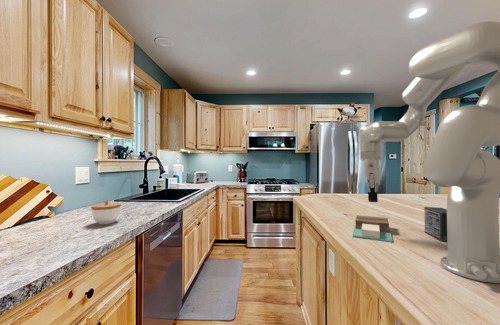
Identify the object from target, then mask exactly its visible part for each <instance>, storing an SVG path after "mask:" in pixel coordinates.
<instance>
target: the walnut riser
mask: <svg viewBox="0 0 500 325" xmlns="http://www.w3.org/2000/svg"><path fill="white" fill-rule="evenodd" d="M389 222H390V221H389V218H388V217H381V216H370V215H358V214H357V215H356V218H355V225H356V229H362V224H372V225H379V229H380V231H381V232H389V229H390V224H389Z"/></svg>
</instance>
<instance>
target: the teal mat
mask: <svg viewBox="0 0 500 325" xmlns="http://www.w3.org/2000/svg"><path fill="white" fill-rule="evenodd" d="M351 236H352V237H353V238H356V239H364V240H365V239H366V240H372V241H374V240H375V241H379V242H380V241H381V242H388V243H393V237H392V234H391V228H389V232H381V231H380V238H374V237H367V236H362V230H361V229H356V224H355V225H354V228H353V231H352V235H351Z"/></svg>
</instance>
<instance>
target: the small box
mask: <svg viewBox="0 0 500 325" xmlns="http://www.w3.org/2000/svg"><path fill="white" fill-rule="evenodd" d="M423 209H424V233H425V234H426V235H428V236H430V237H432V238H434V239H436V240H438V241H440V242H447V208H443V207H437V206H435V207H433V206H431V207H430V206H424V207H423Z"/></svg>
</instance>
